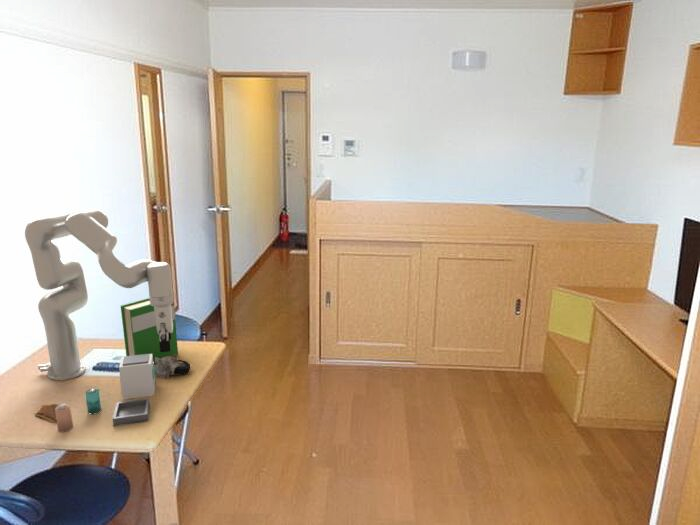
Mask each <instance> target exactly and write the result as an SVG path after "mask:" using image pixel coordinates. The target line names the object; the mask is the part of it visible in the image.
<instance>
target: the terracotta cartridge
mask: <svg viewBox="0 0 700 525" xmlns="http://www.w3.org/2000/svg"><path fill="white" fill-rule="evenodd" d="M60 404H61V405H59V406H57V407H56V408H55V413H56V419H57V423H56V424H57V431H59V432H68V431H70V430H71V429H73V427H74V426H73V424H74V423H73V418H72V412H71V406H70V404H67V403H60Z"/></svg>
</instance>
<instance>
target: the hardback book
mask: <svg viewBox="0 0 700 525" xmlns="http://www.w3.org/2000/svg"><path fill="white" fill-rule="evenodd" d="M174 303H175V301H174V302H173V303H172V304H171V309H172V319H173V332H172V333H171V340H169V341H170V351H169V352H160V344H159V341H160V335H159V334H158V333H157V328H156V320H155V311H154V306H151V305H150V298H149V297H147V298H143V299H139V300H135V301H132V302H128V303H124V304H121V305H120V311H121V312H120V313H121V322H122V329H123V330H122V331H123V338H124V348H125V356H133V355H142V354H152V355H153V362H155V357H157V358H160V359H161V358H163V357H166V356H174V357H175V356H177V355H178V354H179V350H178V349H179V348H178V338H177V337H178V336H177V325H176V314H175V313H176V312H175V304H174Z"/></svg>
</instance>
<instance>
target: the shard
mask: <svg viewBox="0 0 700 525" xmlns="http://www.w3.org/2000/svg"><path fill="white" fill-rule="evenodd" d="M61 404H62V403H49V404H42V405H41V406H40V407H39V410H37V411H36V412H35V413H34V416H36V417H40V418H43V419H45V420H47V421H48V422H51V423H56V424H57V419H56V413H55V408H56V407H57V406H59V405H61Z"/></svg>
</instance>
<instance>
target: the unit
mask: <svg viewBox="0 0 700 525" xmlns="http://www.w3.org/2000/svg"><path fill="white" fill-rule="evenodd" d="M118 370H119V371H118V372H119V380H120V387H121V394H122V395H121V396H122V400H128V399H127V398H131V399H137V397H139V398H145V397H144V396H146V397H152V395H154V396H155V392H156V390H155V389H156V378H155V376H156V375H155V370H154V363H153V355H152V354H142V355H133V356H126V355H125V356H122V357H121V359H120V362H119V367H118Z"/></svg>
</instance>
